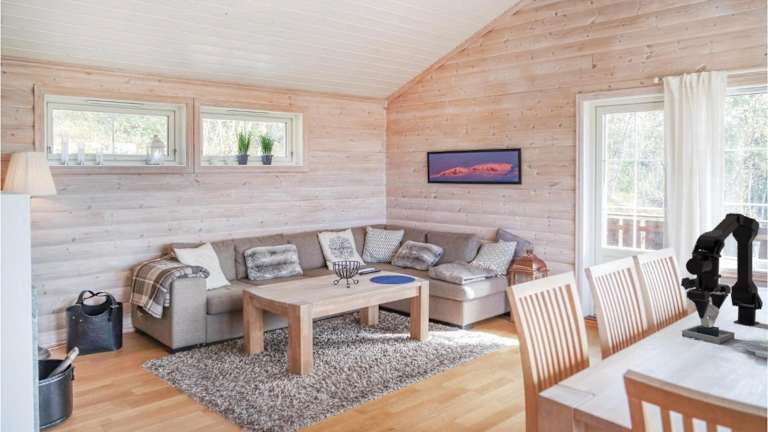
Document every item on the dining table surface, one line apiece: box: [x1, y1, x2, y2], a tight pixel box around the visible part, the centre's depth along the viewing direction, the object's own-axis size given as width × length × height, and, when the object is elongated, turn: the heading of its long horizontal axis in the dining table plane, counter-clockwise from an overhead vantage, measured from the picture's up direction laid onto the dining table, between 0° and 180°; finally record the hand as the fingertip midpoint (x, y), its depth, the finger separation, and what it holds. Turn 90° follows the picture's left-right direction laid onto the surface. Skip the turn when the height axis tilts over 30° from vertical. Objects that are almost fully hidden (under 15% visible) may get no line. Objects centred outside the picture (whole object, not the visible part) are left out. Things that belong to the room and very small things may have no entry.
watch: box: [697, 303, 720, 337], centre depth 208 cm, size 6×8×11 cm
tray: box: [681, 324, 735, 345], centre depth 208 cm, size 11×13×2 cm
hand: (708, 316), depth 208 cm, fingers open, 9 cm apart
